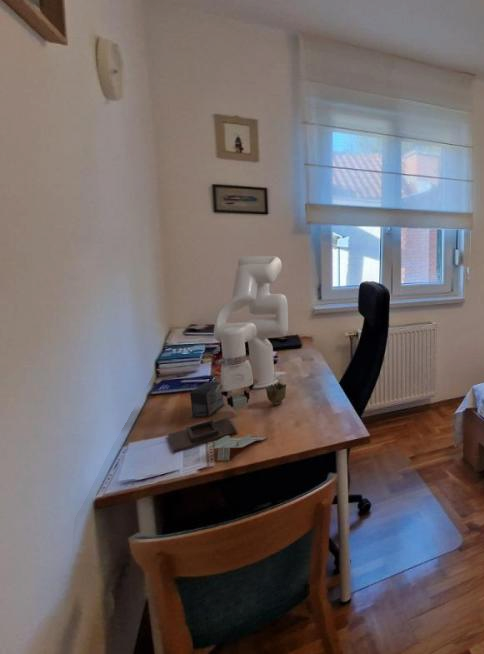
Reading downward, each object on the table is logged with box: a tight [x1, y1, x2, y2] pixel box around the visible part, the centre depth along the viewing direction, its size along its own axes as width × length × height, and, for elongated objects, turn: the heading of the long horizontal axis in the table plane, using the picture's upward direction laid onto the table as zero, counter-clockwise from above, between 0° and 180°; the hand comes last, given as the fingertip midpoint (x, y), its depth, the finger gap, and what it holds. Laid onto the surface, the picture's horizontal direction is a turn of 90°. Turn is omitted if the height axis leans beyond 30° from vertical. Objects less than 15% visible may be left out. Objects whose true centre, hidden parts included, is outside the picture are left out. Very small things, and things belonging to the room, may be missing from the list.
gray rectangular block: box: [231, 391, 248, 411], centre depth 162 cm, size 4×7×4 cm, turn 44°
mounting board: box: [168, 417, 238, 454], centre depth 147 cm, size 18×14×2 cm
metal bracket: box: [205, 434, 267, 462], centre depth 139 cm, size 14×6×15 cm
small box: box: [189, 381, 225, 418], centre depth 165 cm, size 11×6×10 cm, turn 5°
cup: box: [265, 382, 287, 407], centre depth 172 cm, size 8×7×8 cm
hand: (238, 403), depth 162 cm, fingers closed on gray rectangular block, 4 cm apart
